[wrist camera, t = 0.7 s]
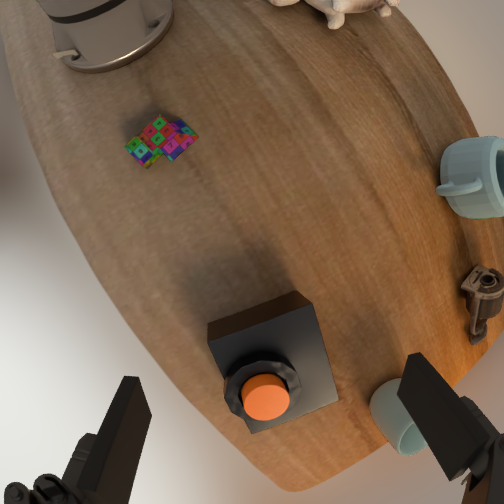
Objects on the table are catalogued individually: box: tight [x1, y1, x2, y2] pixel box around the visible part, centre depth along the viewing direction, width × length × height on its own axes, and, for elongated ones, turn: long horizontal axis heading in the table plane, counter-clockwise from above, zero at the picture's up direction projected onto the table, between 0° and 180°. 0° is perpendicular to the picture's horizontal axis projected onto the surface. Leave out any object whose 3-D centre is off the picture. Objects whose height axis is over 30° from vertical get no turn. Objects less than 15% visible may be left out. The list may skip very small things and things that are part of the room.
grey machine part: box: [461, 265, 504, 345], centre depth 32 cm, size 7×13×10 cm
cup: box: [370, 378, 428, 456], centre depth 30 cm, size 8×8×10 cm
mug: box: [435, 136, 504, 219], centre depth 28 cm, size 15×11×10 cm
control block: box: [207, 291, 339, 434], centre depth 28 cm, size 12×10×7 cm
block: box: [124, 114, 198, 169], centre depth 26 cm, size 6×4×3 cm
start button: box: [241, 374, 290, 421], centre depth 24 cm, size 4×4×2 cm
